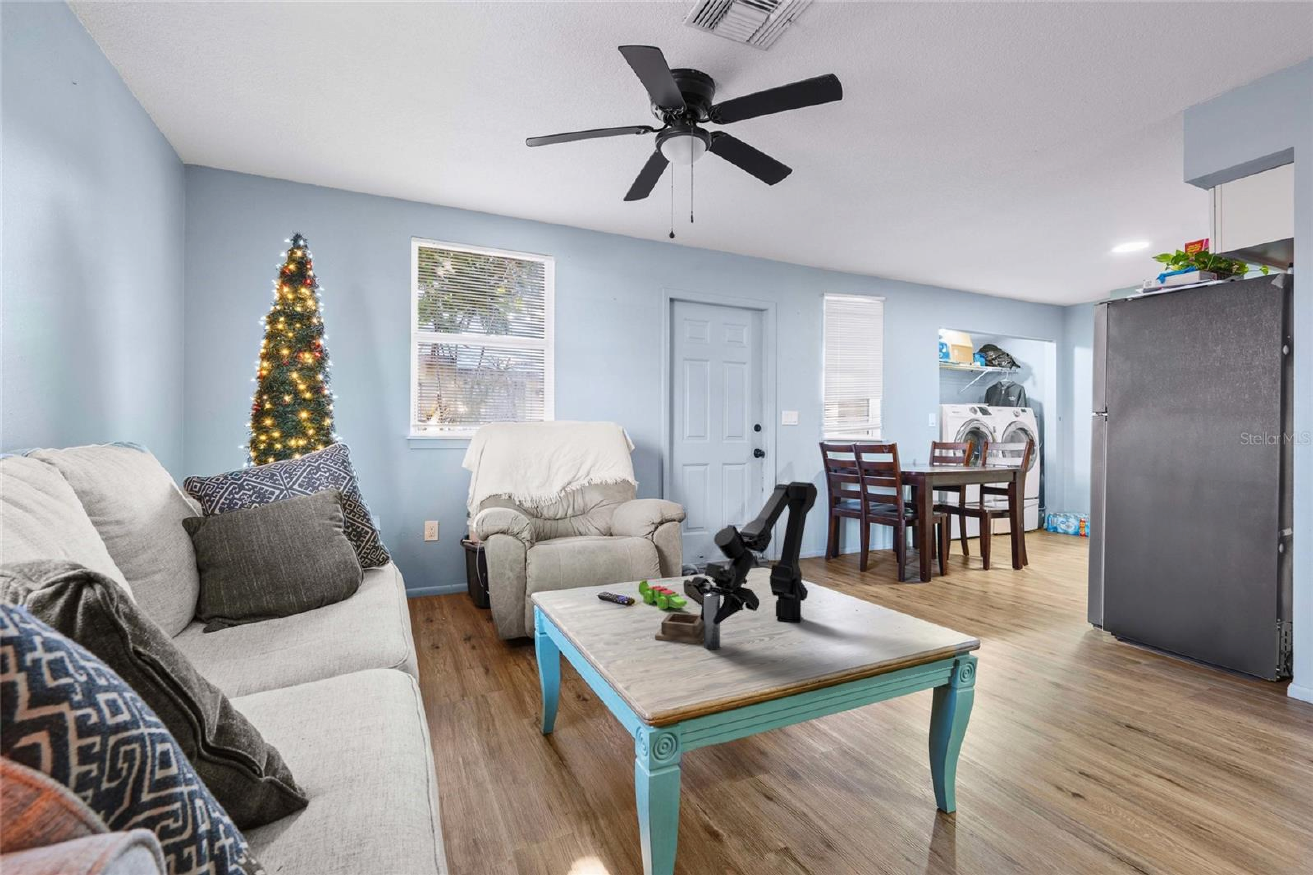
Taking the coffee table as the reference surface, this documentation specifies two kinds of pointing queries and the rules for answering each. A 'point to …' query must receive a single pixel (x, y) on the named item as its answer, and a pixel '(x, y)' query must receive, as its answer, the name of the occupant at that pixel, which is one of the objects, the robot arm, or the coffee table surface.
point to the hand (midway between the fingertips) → (708, 621)
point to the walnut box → (682, 628)
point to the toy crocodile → (661, 596)
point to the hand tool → (692, 591)
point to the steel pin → (711, 621)
